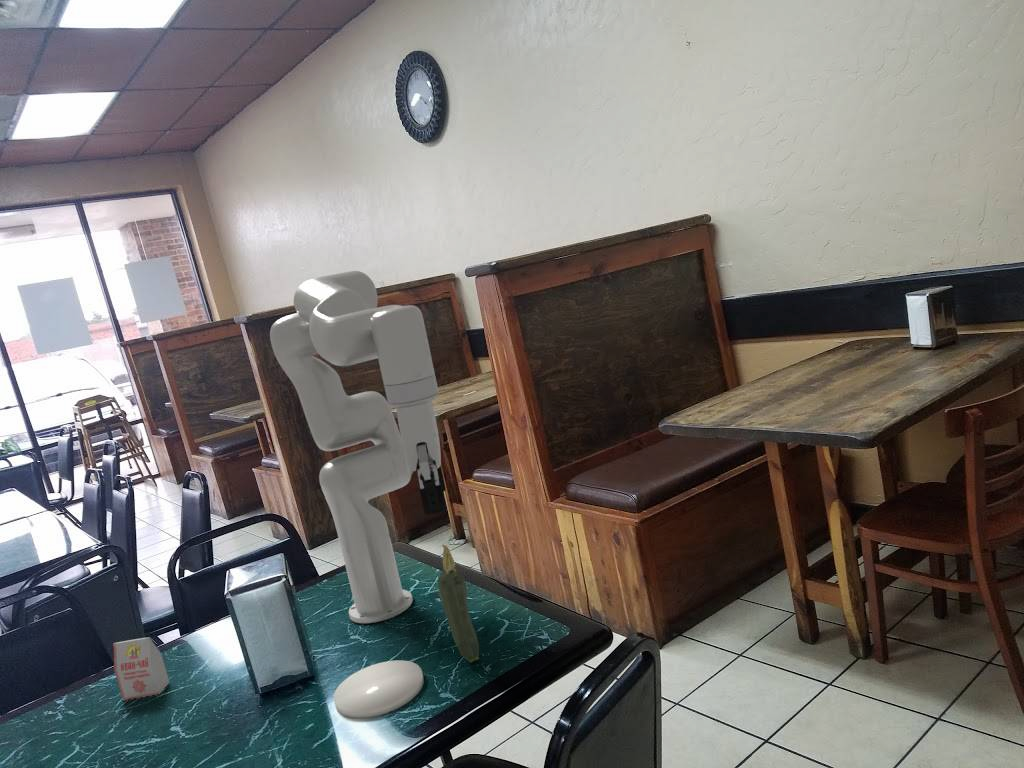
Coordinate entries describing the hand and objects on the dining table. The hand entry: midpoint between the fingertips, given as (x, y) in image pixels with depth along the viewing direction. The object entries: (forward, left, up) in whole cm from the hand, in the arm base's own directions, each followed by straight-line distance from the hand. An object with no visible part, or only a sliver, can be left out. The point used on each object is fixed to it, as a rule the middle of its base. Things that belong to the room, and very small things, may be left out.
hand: (435, 502), depth 117 cm
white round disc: (-9, -13, -29) cm, 33 cm away
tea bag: (-44, -45, -29) cm, 69 cm away
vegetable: (-5, +1, -29) cm, 29 cm away
